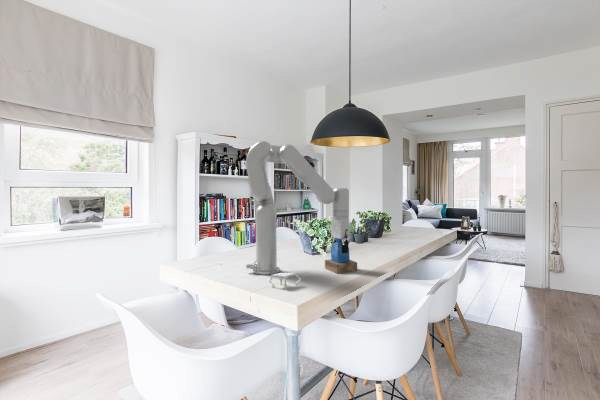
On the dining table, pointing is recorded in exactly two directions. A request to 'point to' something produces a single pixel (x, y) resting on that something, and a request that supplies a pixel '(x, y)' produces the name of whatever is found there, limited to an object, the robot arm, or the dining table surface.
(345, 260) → the perfume bottle
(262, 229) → the robot arm
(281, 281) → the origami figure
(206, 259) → the dining table surface
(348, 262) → the walnut block
